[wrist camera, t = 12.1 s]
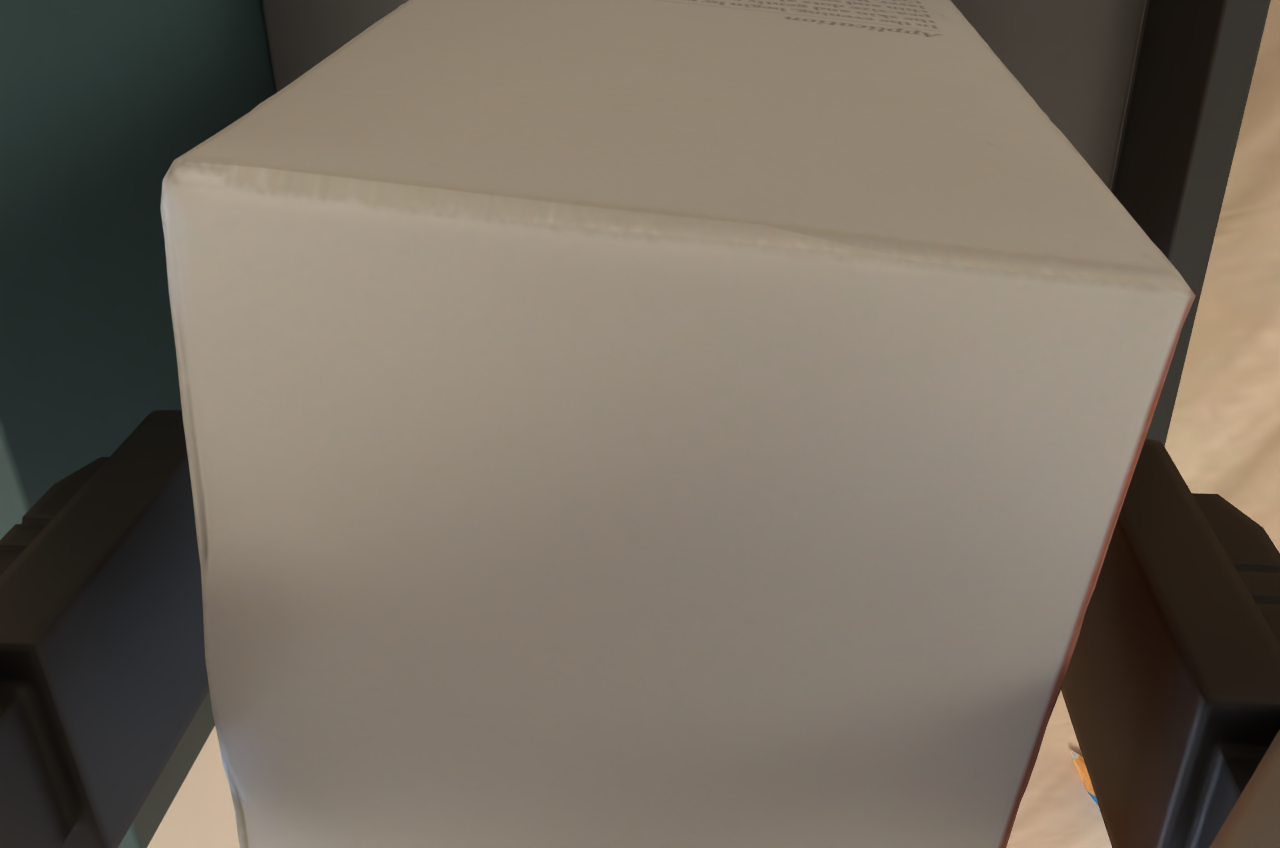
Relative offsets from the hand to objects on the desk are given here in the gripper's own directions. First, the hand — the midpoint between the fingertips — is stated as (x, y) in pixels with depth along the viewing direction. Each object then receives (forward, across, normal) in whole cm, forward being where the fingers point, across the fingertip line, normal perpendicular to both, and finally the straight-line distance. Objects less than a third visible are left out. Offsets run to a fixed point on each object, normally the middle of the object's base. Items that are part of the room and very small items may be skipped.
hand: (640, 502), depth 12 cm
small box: (+10, 0, 0) cm, 10 cm away
